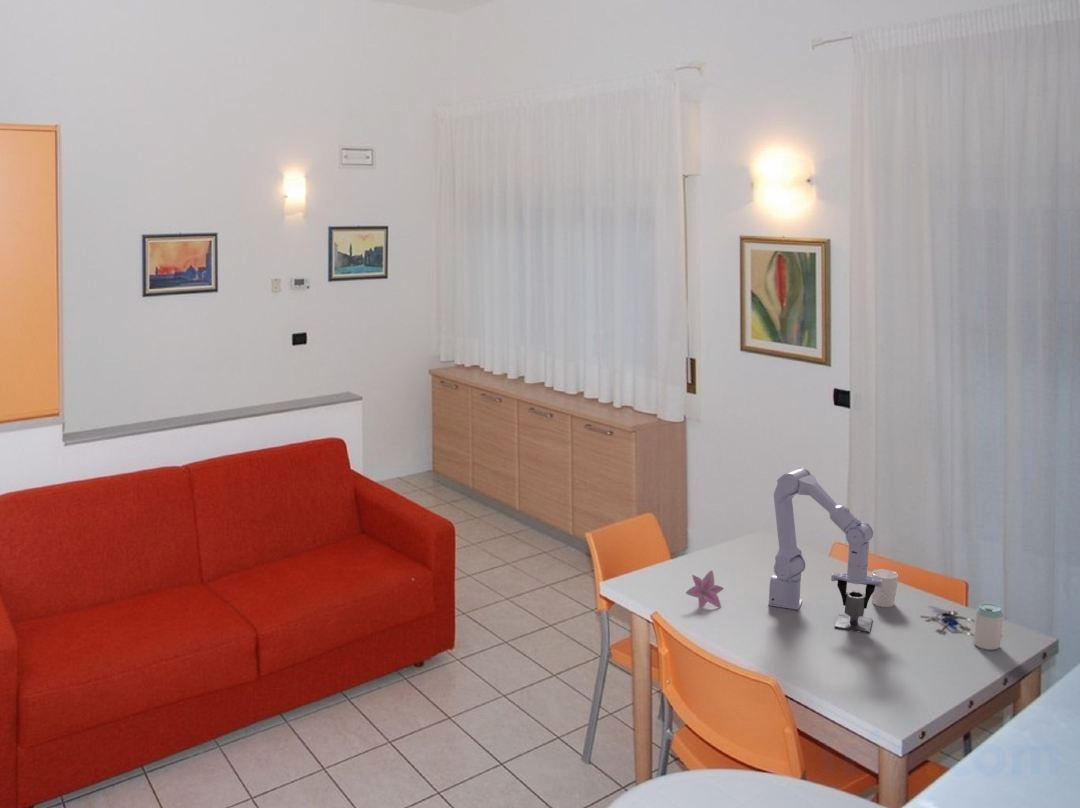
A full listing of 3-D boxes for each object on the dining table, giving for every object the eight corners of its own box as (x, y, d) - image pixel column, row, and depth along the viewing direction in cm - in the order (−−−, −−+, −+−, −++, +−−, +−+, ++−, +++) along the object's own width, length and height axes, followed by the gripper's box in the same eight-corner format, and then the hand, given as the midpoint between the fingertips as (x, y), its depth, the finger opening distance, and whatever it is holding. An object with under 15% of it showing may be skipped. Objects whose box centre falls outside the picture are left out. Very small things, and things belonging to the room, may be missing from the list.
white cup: (897, 609, 317) (899, 579, 315) (871, 607, 319) (873, 577, 317) (894, 599, 325) (896, 570, 323) (868, 597, 326) (870, 568, 324)
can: (1004, 651, 288) (1008, 611, 286) (980, 652, 288) (984, 612, 285) (991, 640, 295) (995, 601, 293) (968, 641, 295) (972, 602, 292)
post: (834, 628, 304) (835, 610, 302) (838, 615, 313) (839, 597, 311) (869, 633, 300) (870, 615, 299) (872, 620, 309) (873, 602, 308)
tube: (843, 614, 304) (845, 596, 303) (846, 608, 309) (847, 589, 307) (862, 618, 302) (864, 599, 301) (864, 611, 307) (866, 592, 305)
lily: (679, 609, 320) (688, 590, 314) (684, 583, 329) (693, 563, 323) (715, 622, 319) (725, 603, 313) (719, 595, 328) (729, 576, 322)
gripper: (831, 564, 301) (828, 607, 304) (882, 571, 296) (879, 614, 299) (833, 556, 308) (831, 598, 310) (883, 563, 302) (880, 605, 305)
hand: (854, 605), depth 305 cm, fingers closed on tube, 5 cm apart
